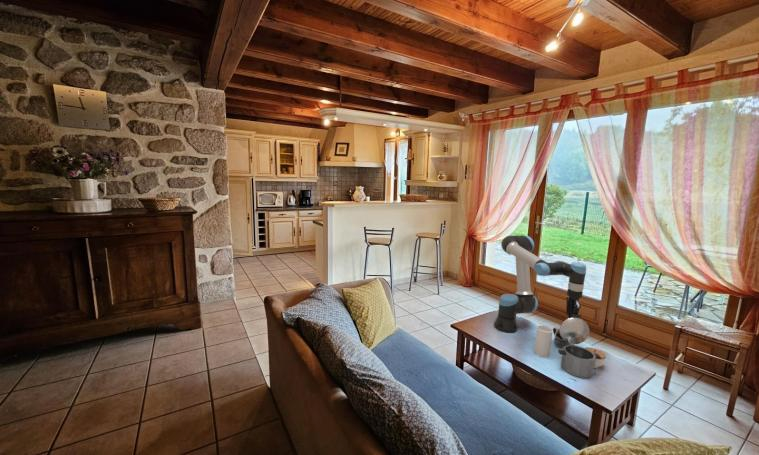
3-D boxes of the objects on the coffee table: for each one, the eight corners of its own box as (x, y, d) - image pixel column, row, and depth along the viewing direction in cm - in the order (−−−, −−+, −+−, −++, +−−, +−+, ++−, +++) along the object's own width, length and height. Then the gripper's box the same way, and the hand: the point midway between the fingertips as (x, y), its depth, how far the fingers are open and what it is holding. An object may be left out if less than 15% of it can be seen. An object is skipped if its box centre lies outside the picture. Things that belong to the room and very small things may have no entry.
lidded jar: (577, 361, 186) (579, 346, 184) (589, 358, 190) (591, 343, 188) (595, 372, 176) (598, 356, 174) (608, 368, 180) (610, 352, 179)
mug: (563, 351, 195) (565, 336, 194) (545, 341, 207) (547, 327, 205) (573, 349, 199) (576, 334, 198) (555, 339, 211) (557, 325, 209)
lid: (558, 342, 184) (557, 341, 185) (587, 345, 182) (586, 344, 183) (562, 313, 182) (561, 312, 183) (591, 316, 180) (589, 315, 181)
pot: (550, 358, 187) (552, 342, 185) (588, 363, 184) (591, 346, 183) (562, 375, 171) (565, 357, 169) (603, 380, 169) (607, 362, 167)
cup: (551, 358, 188) (554, 332, 185) (536, 356, 189) (539, 330, 187) (546, 350, 196) (550, 326, 193) (532, 348, 197) (535, 324, 195)
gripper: (563, 285, 191) (558, 322, 195) (573, 293, 179) (567, 332, 182) (576, 286, 191) (571, 323, 194) (587, 294, 178) (581, 334, 181)
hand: (569, 328), depth 188 cm, fingers closed
